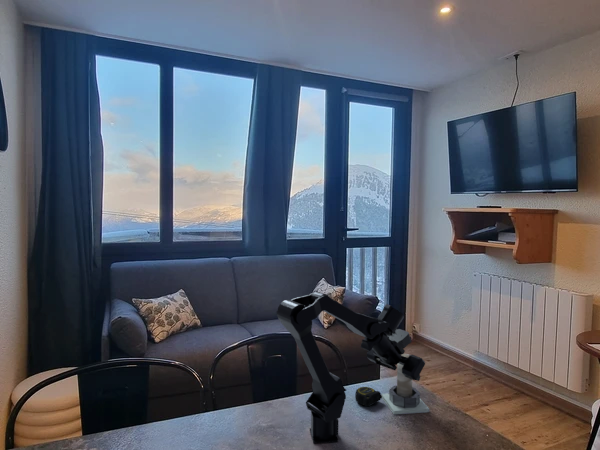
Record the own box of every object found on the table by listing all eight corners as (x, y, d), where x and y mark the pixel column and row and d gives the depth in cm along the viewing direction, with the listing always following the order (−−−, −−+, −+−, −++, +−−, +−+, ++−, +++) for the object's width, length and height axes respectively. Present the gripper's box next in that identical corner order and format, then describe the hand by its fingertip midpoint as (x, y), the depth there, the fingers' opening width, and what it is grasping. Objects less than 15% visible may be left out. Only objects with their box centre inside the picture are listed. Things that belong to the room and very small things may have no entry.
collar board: (393, 414, 119) (393, 411, 119) (381, 396, 130) (381, 393, 130) (429, 412, 120) (429, 408, 120) (414, 394, 131) (414, 391, 131)
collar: (396, 408, 120) (396, 398, 120) (386, 395, 129) (386, 386, 129) (423, 406, 121) (423, 397, 121) (412, 393, 130) (412, 384, 130)
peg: (403, 405, 122) (404, 360, 121) (393, 399, 126) (394, 355, 125) (415, 402, 124) (415, 357, 123) (404, 396, 128) (405, 352, 127)
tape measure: (367, 410, 122) (368, 398, 121) (350, 402, 127) (350, 390, 126) (382, 403, 126) (382, 391, 126) (364, 395, 131) (365, 384, 131)
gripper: (421, 331, 114) (445, 361, 120) (373, 316, 129) (397, 343, 136) (401, 364, 110) (427, 394, 116) (354, 345, 125) (379, 372, 132)
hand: (407, 374), depth 125 cm, fingers open, 9 cm apart
